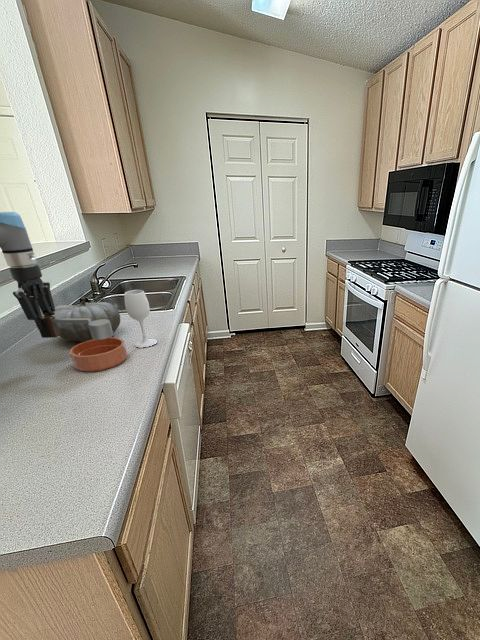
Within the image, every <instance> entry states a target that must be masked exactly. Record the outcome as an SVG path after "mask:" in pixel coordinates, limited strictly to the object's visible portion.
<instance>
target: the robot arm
mask: <svg viewBox="0 0 480 640" xmlns="http://www.w3.org/2000/svg"><path fill="white" fill-rule="evenodd" d="M0 249H1V252H2V255H3V258H4V260H5V263H6V265H7V266H8V267H10V268H9V269H8V270H9V272H10V275H11V277H12V279H13V280H14V281H16V282H17V288H18V289H17V290H16V291H13V292H12V295H13V297H15V299H17V302H18V304H19V305H20V307H21V309H22V311H23V313H24V316H25V317H26V319H27V320H28V321H34V323H35V325H36V328H37V330H38V331H39V334H40V333H41V334H40V337H41V338H42V339H45V338H46V339H47V338H49V339H51V338H50V337H51V334H50V331H49V329H48V326H47V323H46V321H45V319H42V316H52V315H54V314H55V313H52V312H55V307H56V306H55V303H54V299H53V296H52V295H53V294H52V292H51V283H50V282H48V281H47V282H45V281H43V280H42V277H43V273H42V270H41V268H40V266H39V265H38V260H37V258H36V255H35V252H34V249H33V246H32V243H31V240H30V237H29V234H28V231H27V228H26V226H25V224H24V222H23V218H22V217H21V215H20V213H18V212H16V211H0Z"/></svg>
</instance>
